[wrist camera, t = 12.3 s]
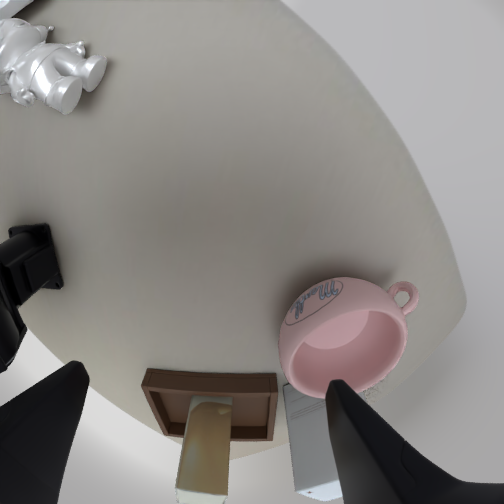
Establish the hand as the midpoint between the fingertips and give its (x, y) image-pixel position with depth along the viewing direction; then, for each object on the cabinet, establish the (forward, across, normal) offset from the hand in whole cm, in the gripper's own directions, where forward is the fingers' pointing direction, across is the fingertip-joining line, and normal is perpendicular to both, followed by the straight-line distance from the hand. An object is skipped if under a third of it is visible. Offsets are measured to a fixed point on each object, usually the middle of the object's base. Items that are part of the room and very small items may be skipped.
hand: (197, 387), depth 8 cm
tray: (+13, +2, +19) cm, 23 cm away
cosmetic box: (+13, +2, +19) cm, 23 cm away
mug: (+13, -10, +5) cm, 17 cm away
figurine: (+13, +16, -16) cm, 26 cm away
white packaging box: (+13, -10, +16) cm, 23 cm away
